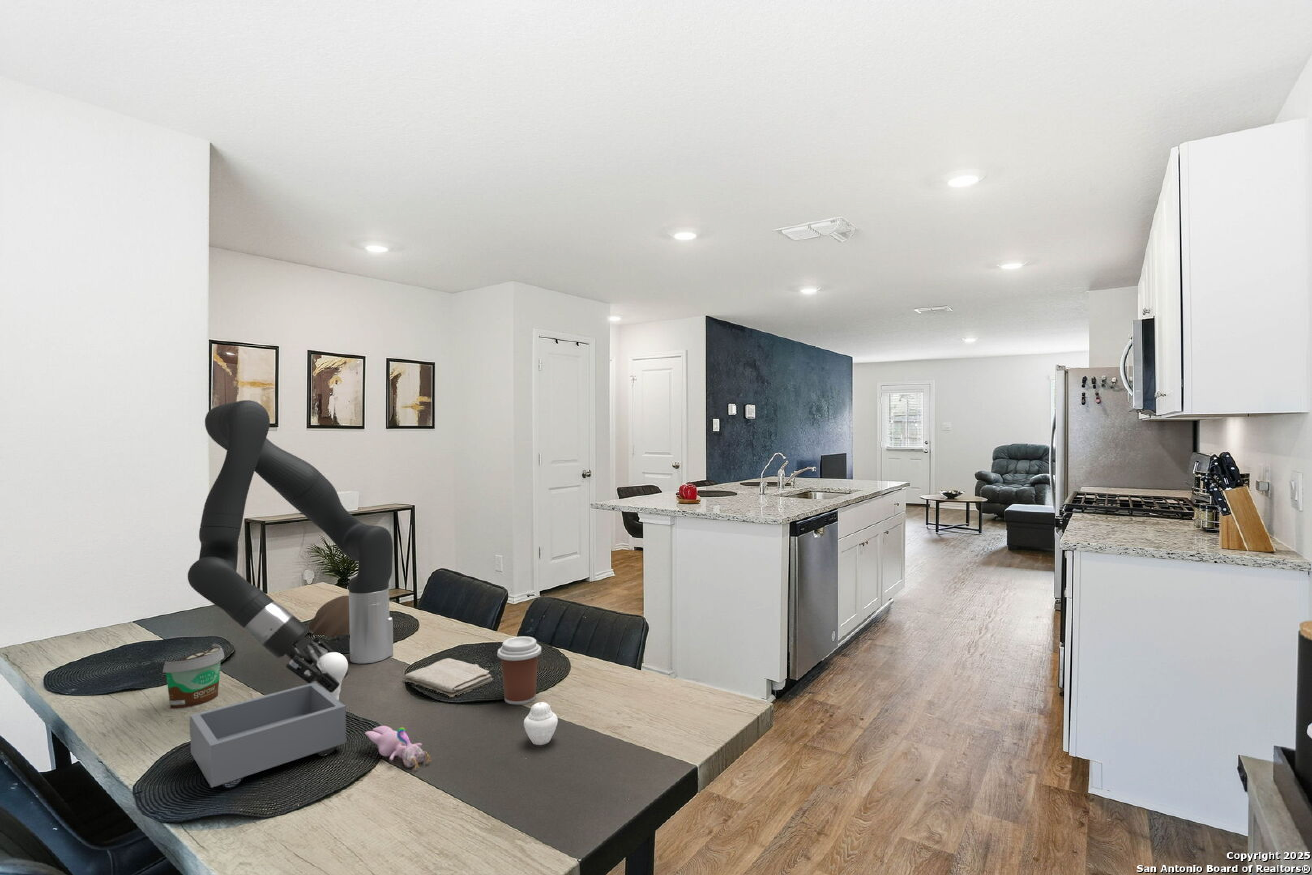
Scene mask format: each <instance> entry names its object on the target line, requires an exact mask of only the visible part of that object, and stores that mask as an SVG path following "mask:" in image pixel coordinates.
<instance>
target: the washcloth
mask: <svg viewBox="0 0 1312 875" xmlns="http://www.w3.org/2000/svg"><path fill="white" fill-rule="evenodd" d="M489 673H490V670H487V669H484V668H482V667H480V666H479V664H476V663H475V664H472V663H468V662H465V661H462V660H457V659H454V658H450V657H447V658H443V659H440V660H438V661H435V662H434V663H432V664H429V665H428V666H426V667H422V668H419V669H415V670H413V671H411V672H409V673H405V675H404V677H403V681H404V682H405V683H407V682H413V683H415V684H420V685H423V686H424V687H427V688H429V689H434V690H436V691H437V692H436V693H438V692H440V693H444V694H446V695H448V696H449V697H448V696H447V697H448V698H451V697H453V698H454V697H456V696H455V695H457V696H460V694H462V693H464V694H466V692H467V693H469V692H471V691H474V690H475V689H478V688H480V686H481V687H483V686H485V684H486V685H487V684H490V683H492V681H493V680H494V678H493V677H492V674H489ZM429 689H428V690H429ZM473 689H474V690H473ZM440 693H439V694H440ZM446 695H445V696H446ZM462 695H463V694H462Z"/></svg>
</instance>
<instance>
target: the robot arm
mask: <svg viewBox="0 0 1312 875" xmlns="http://www.w3.org/2000/svg"><path fill="white" fill-rule="evenodd" d="M270 425H271V420H270V415H269V413H268V411H267V409H266V408H265V407H264V406H263V405H262V404H261V403H260V402H258V401H255V400H250V399H249V400H248V399H245V400H243V399H242V400H239V401H238V400H237V401H233V402H229V403H224V404H220V405H216V406H214V407H213V408H211V409H210V410H209V411H208V412H207V413H206V414H205V419H204V426H205V430H206V432H207V434H208V436H209V437H210V438H211V440H212V441H214V442H215V443H216V444H217V445H218V446H220V447H222V449H224V450H225V451H226V454H225V457H224V458H225V459H224V462H223V464H222V467H221V470H220V471H219V474H218V476H217V477H216V479H215V481H214V483H213V485H212V486H211V488H210V490H209V492H208V495H207V497H206V499H205V503H204V506H203V511H202V515H201V521H200V526H199V531H198V532H199V534H198V538H199V541H200V550H199V555H198V556H199V557H198V560H196V561H195V562H194V563H192V565H191V566H190V567H189V570H187V572H188V573H187V582H188V584H189V586H190V587H191V588H192V589H193V590H194V591H195V592H197V594H199V595H200V596H202V597H203V598H204V599H206V600H207V601H209V602H210V603H212V604H214V605H215V606H217V607H218V608H220V609H221V610H223V611H224V612H225V613H226V614H227V615H228V616H229V617H230V618H231V619H232V620H233V621H235V622H236V624H238V625H239V626H241V627H242V628H243V629H244V630H245V631H246V632H247V633H248V634H249V635H250V636H251V637H252V638H253V639H254V640H255V641H256V642H258V643H259V644H260V645H261V646H262V647H264V648H265V649H266V650H267V651H268V652H270V653H271V654H272V655H273V656H275V657H276V659H282V658H283V657H284V656H287V657H288V658H289V659H290V660H289V662H288V663H287V664H286V665H285V667H286V668H287V669H288V670H289V671H291V672H292V673H294V674H295V675H296V676H298V677H299V678H301V679H302V680H304V682H306V683H307V684H310V683H314V682H316V683H317V684H318V685H320V686H321V687H322V686H323V687H324V688H325V689H327V690H328V691H329V692H334V690H335V689H336V688H337V687H338V686H339V685H340V683H339V682H338V681H337V680H335V679H334V678H333V677H332V676H331V675H329V674H328V673H327V672H326V673H325V670H324V669H323V668H322V666H321V665H320V664H321V661H320V658H321V657H322V656H323V655H325V654H327V653H331V652H335V651H334V650H333V649H332V648H331V647H330V646H329V645H328V644H327V643H326V642H325V640H323V639H321V638H320V637H318V636H316V637H315V638H314V639H312V638H308V637H307V636H306V635H307V634H308V631H309V626H307V625H306V624H304V623H303V622H302V621H301V620H300V619H298V617H296V616H295V615H293V614H292V613H291V612H290V611H289V610H288V609H287V608H286V607H284V606H283V605H281V604H279V603H278V602H276V601H275V600H273V598H272V597H271V596H269V595H268V594H267V593H265V591H263V590H262V589H260V588H259V587H257V586H256V585H254V584H251V583H250V582H248V581H247V580H246V579H245V578H244V577H243V576H242V575H241V574H240V573H238V572H237V569H238V561H239V559H238V557H239V556H238V555H239V540H240V535H241V531H242V527H243V526H242V525H243V520H244V515H245V510H246V504H247V499H248V494H249V492H250V486H251V483H252V480H253V477H254V473H256V474H257V475H258V476H259V477H260V478H261V479H262V480H264V481H265V482H266V484H268V486H271V487H272V488H273V489H274V490H275V491H276V492H277V493H278V494H279V495H280V496H281V497H282V498H284V500H286V502H288V503H289V504H290V505H291V506H292V507H293V508H294V509H296V510H297V511H298V512H300V514H302V515H303V516H305V518H307V519H308V520H309V521H310V522H312V524H314V525H315V526H317V527H318V528H319V529H321V531H323V532H324V533H325V534H326V536H327V537H328V538H329V539H330V540H331V541H332V542H333V544H334V545H335V546H336V547H337V548H338V549H339V551H341V552H342V554H344V556H346V557H347V558H348V559H350V560H352V561H355V562H358V569H357V574H356V576H354V577H352V578H350V579H349V581H348V596H349V629H350V639H349V660H350V662H351V663H353V664H370V663H371V664H372V663H377V662H380V661H384V660H385V659H388V658H389V657H392V656H394V624H393V623H394V621H393V617H391V616H390V579H391V577H392V574H393V562H394V560H393V559H394V558H393V557H394V556H393V555H394V554H393V553H394V551H393V550H394V545H393V544H394V543H393V538H392V534H391V533H390V531H389V530H388V529H387V528H385V527H384V526H381V525H380V526H379V525H373V524H372V525H371V524H365V523H363V522H361V521H360V520H359V519H357V518H356V517H355V516H353V515H352V514H351V513H350V512H349V510H347V509H346V508H345V507H344V505H343V504H342V502H341V500H340V497H339V494H338V492H337V490H336V488H335V486H334V485H333V484H332V483H331V481H329V479H327V478H326V477H325V475H323V474H322V473H321V471H319V469H317V468H316V466H314V465H312V464H311V463H309V462H307V461H306V460H304V459H302V458H300V457H298V456H296V455H294V454H293V453H291V452H288V451H287V450H284V449H282V448H281V447H279V446H277V445H276V444H274V443H273V442H272V441H271V440H269V439H268V438H267V437H268V433H269V430H270V427H271V426H270ZM315 668H316V669H315ZM348 674H349V670H347V672H346V674H345V676H344V678H343V680H344V679H345V678H346V677H347V676H348ZM323 687H322V688H323Z"/></svg>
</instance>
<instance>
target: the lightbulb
mask: <svg viewBox="0 0 1312 875" xmlns="http://www.w3.org/2000/svg"><path fill="white" fill-rule="evenodd" d="M320 661H321V664H320V665H321V666H322V668H323V669H324V670H325V673H326V672H327V673H328V674H329V675H331V676H332V677H333V678H334V679H335V680H337V681H338V682H339V683H340V685H339V686H338V687H337V688H336V689H335V690H334V692H329V691H328V690H327V689H325V688H324V687H323V686H322V685H321V687H322V688H323V689H325V690H326V691H327V692H328V693H330V694H331V695H332V696H333V697H335V698H336V699H337V700H339V701H340V693H341V689H342V688H341V687H342V682H343V680H344V679H345V678H344V676H345V674H346V672H347V671H348V669H349V663H348V660H347V658H346V656H344V655H343V654H341V653H340V652H336V651H334V652H331V653H327V654H325V655H323V656H322V657H321V658H320ZM315 669H316V668H315ZM343 678H344V679H343Z"/></svg>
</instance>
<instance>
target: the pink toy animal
mask: <svg viewBox="0 0 1312 875" xmlns="http://www.w3.org/2000/svg"><path fill="white" fill-rule="evenodd" d="M364 735H366V737H368V739H369V740H370V741H371V742H373V744H375V745H376V746H377V749H378V753H379V754H380V755H381V756H383V757H385V758H386V757H389V760H390V761H393V760H394V757H399V758H400V759H402V762H403V764H404V765H405V767H406V768H412V767H414V771H417V770H418V768H420V766H419V763H422V762H423V761H424V759H425V758H427V761H426V764H428V765H430V763H429V762H432V760H431V756H430V754H428V753H427V751H424V750H423V749H422V748H421V746H422V745H423V744H422V743H421V742H417V743H412V742H411V741H410V738H409V736H408V734H407V733H406V728H405V727H403V726H402V727H399V728H398V730H393V728H391V727H389V726H387V725H380V726H379V725H378V726H376V727H374V728H372V731H371V730H368V731H365V733H364Z"/></svg>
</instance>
